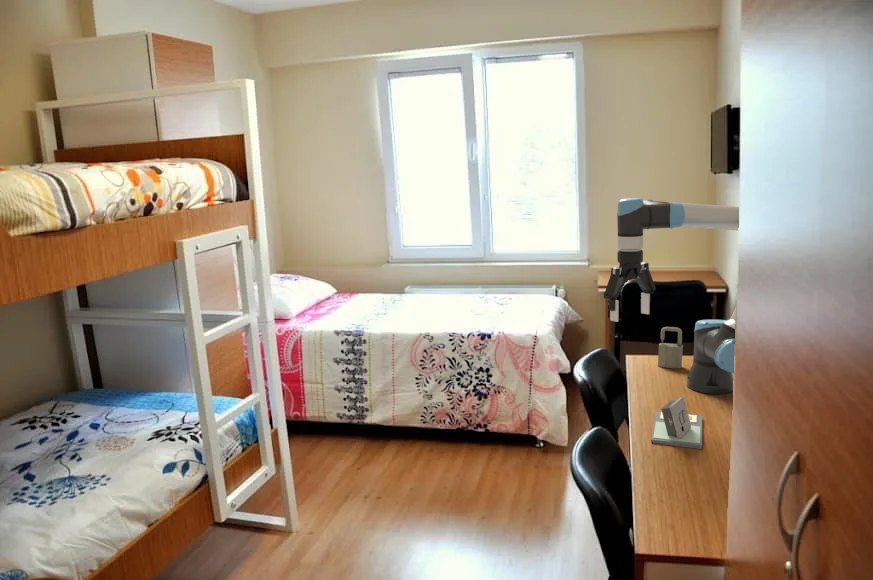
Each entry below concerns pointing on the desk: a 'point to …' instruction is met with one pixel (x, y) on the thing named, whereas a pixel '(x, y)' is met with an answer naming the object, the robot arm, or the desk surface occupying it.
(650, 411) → the desk surface
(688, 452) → the desk surface
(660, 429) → the switch plate
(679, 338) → the padlock
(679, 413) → the electrical switch
